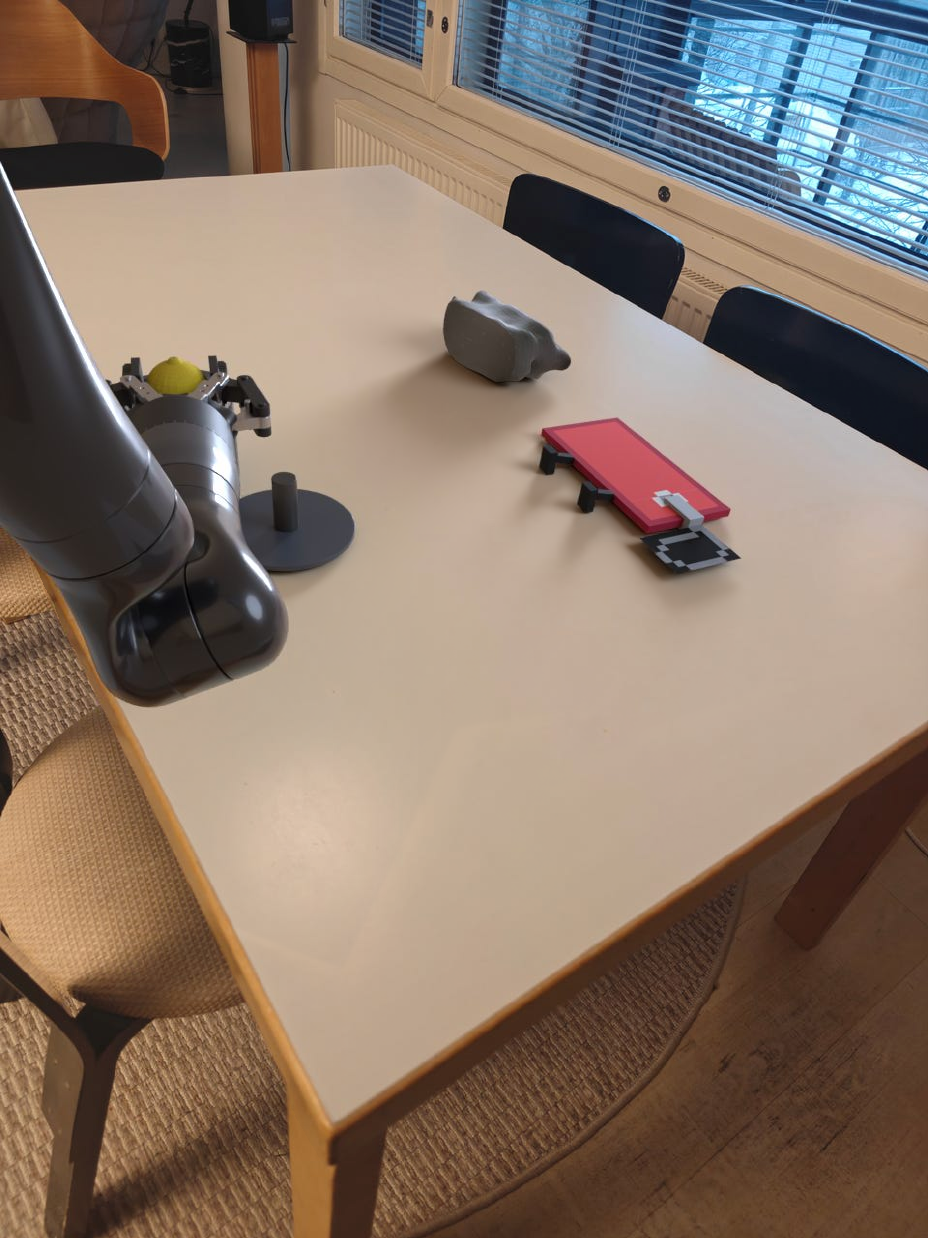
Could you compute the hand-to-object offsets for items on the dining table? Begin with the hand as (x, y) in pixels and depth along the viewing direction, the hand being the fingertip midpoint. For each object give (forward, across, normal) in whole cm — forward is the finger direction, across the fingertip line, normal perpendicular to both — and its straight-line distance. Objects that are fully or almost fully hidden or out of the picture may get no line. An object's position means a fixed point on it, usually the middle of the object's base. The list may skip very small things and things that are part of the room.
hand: (175, 367), depth 71 cm
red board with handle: (+3, -48, +19) cm, 52 cm away
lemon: (-3, 0, +6) cm, 7 cm away
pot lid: (+1, -8, +18) cm, 20 cm away
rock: (+39, -43, +18) cm, 60 cm away
